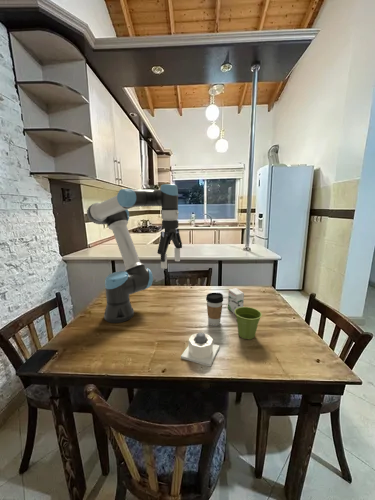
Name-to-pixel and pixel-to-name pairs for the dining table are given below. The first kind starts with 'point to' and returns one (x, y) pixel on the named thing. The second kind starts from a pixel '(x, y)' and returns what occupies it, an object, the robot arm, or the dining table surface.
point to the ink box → (235, 299)
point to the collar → (200, 347)
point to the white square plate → (205, 361)
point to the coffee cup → (214, 308)
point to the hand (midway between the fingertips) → (171, 264)
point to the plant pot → (247, 321)
